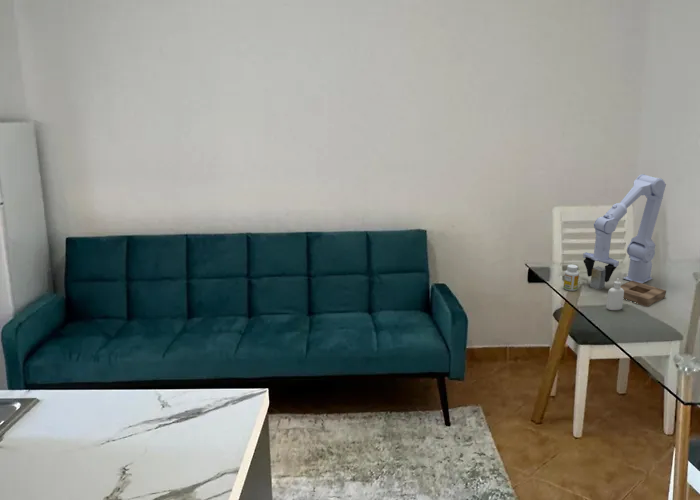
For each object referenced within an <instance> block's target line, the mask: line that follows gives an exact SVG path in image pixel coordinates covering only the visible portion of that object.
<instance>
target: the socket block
mask: <svg viewBox="0 0 700 500" xmlns="http://www.w3.org/2000/svg"><path fill="white" fill-rule="evenodd" d="M620 288H622V289H623V290H624V297H623V298H624V299H627V300H630V301H634V302H636V303H635V304H637V303H638V304H637V305H641V306H644V307H646V308H647V307H649V306H651V305H653V304H655V303H657V302H659V301H661V300H663V299H665V298H666V294H667V290H666V289H662V288H659V287H656V286H652V285H649V284H646V283H639V282H635V281H628V282H625V283H623V284H621V287H620ZM664 297H665V298H664ZM624 299H623V300H624ZM627 300H626V301H627ZM630 301H629V302H630Z"/></svg>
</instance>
